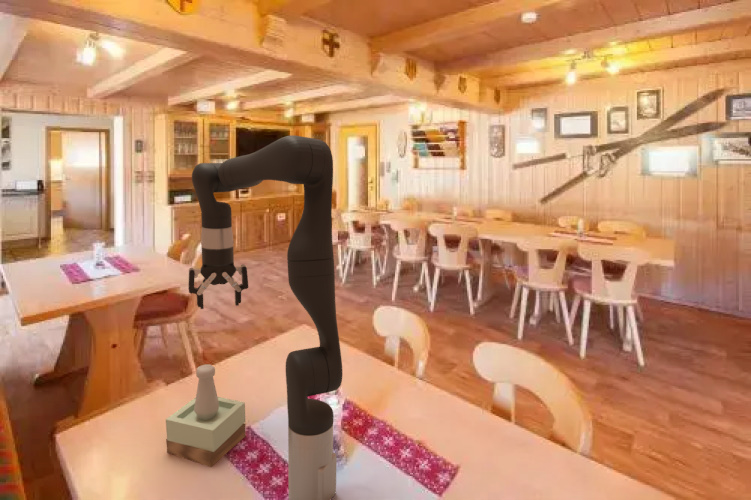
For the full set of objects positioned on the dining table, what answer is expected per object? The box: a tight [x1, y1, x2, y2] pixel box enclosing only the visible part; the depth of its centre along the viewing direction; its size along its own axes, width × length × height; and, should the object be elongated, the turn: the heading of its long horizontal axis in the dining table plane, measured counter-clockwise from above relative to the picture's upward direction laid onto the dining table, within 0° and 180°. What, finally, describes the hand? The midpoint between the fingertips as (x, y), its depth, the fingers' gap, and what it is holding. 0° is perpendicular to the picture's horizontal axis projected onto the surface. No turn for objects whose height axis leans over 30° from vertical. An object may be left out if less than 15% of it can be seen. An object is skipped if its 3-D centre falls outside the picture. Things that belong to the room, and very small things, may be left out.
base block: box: [165, 423, 247, 468], centre depth 115 cm, size 13×13×4 cm
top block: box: [165, 396, 246, 452], centre depth 114 cm, size 13×13×6 cm
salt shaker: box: [194, 363, 219, 421], centre depth 113 cm, size 6×6×13 cm
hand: (219, 306), depth 119 cm, fingers open, 8 cm apart
